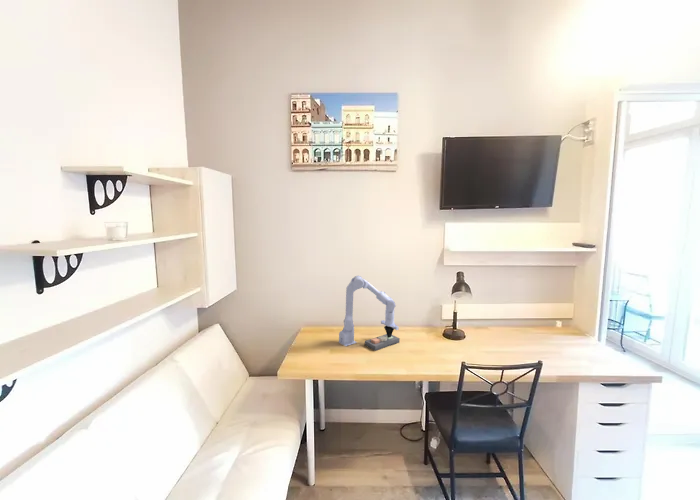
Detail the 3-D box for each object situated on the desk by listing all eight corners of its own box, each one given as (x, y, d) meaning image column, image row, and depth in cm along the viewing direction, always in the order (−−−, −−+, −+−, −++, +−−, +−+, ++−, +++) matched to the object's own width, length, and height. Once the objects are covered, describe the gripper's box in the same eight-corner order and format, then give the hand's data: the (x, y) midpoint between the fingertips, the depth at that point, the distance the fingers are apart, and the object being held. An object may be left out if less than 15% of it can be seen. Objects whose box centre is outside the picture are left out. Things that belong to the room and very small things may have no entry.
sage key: (389, 341, 214) (389, 338, 213) (384, 339, 217) (384, 336, 217) (393, 339, 216) (393, 337, 216) (389, 337, 219) (389, 335, 219)
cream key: (382, 341, 210) (382, 339, 210) (378, 339, 213) (378, 337, 213) (386, 340, 212) (386, 337, 212) (382, 338, 215) (382, 335, 215)
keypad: (375, 351, 203) (375, 346, 202) (364, 345, 211) (364, 340, 210) (399, 342, 215) (399, 338, 215) (388, 337, 223) (388, 333, 223)
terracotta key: (375, 344, 206) (375, 341, 206) (371, 341, 209) (371, 339, 209) (379, 342, 209) (380, 339, 208) (375, 340, 212) (375, 337, 212)
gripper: (402, 319, 211) (401, 339, 213) (386, 312, 222) (385, 332, 224) (394, 321, 207) (393, 342, 209) (378, 315, 218) (378, 334, 220)
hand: (389, 337), depth 216 cm, fingers closed, pressing on sage key
